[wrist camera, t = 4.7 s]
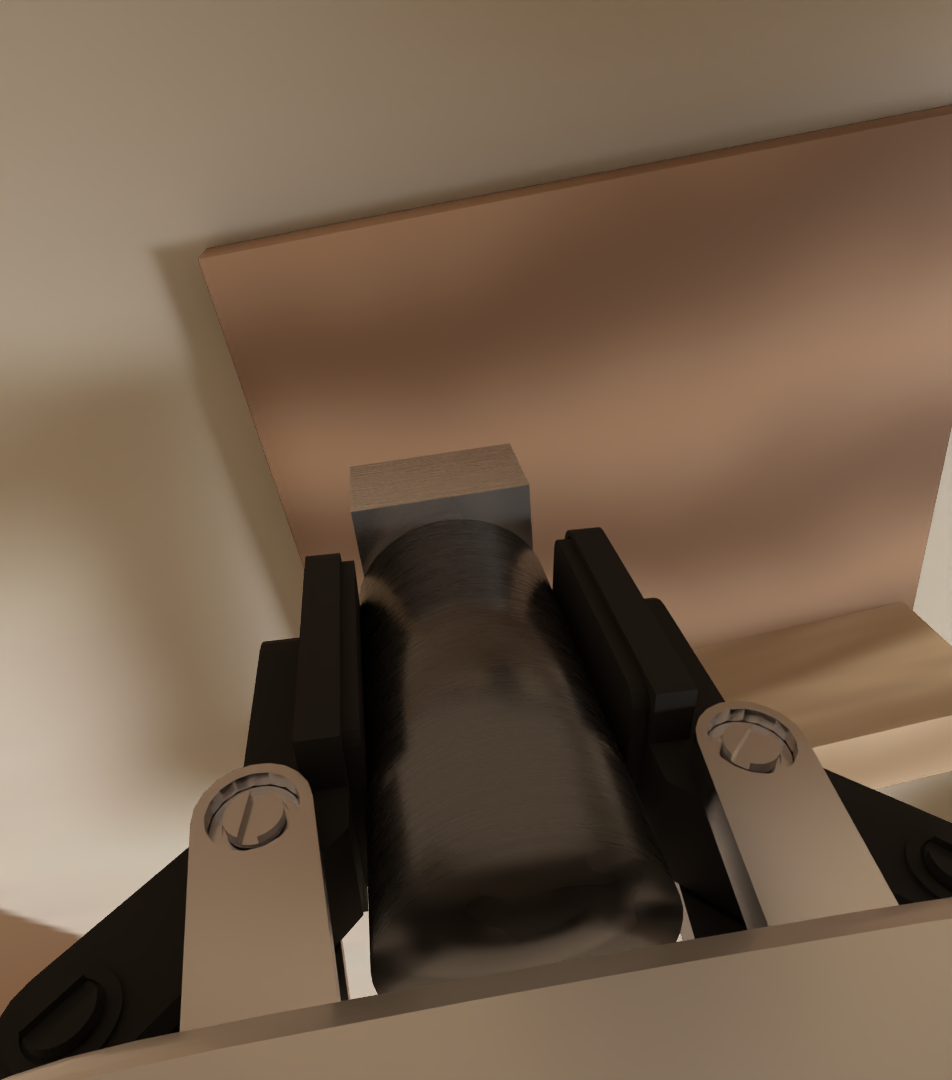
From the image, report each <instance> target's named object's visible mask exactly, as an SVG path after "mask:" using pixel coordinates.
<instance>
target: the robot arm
mask: <svg viewBox="0 0 952 1080" xmlns="http://www.w3.org/2000/svg"><path fill="white" fill-rule="evenodd" d="M552 591H553V593H554V595H555V598H556V600H557V603H558V605H559V607H560V610H561V612H562V614H563V617H564V619H565V622H566V624H567V626H568V629H569V631H570V634H571V636H572V638H573V641H574V643H575V646H576V648H577V650H578V653H579V655H580V657H581V660H582V662H583V665H584V667H585V669H586V672H587V674H588V677H589V679H590V681H591V684H592V686H593V689H594V691H595V693H596V696H597V698H598V700H599V703H600V705H601V708H602V710H603V712H604V715H605V717H606V720H607V722H608V724H609V727H610V729H611V732H612V734H613V736H614V739H615V741H616V743H617V746H618V748H619V751H620V753H621V755H622V758H623V760H624V763H625V765H626V767H627V770H628V772H629V775H630V777H631V779H632V782H633V784H634V787H635V789H636V791H637V794H638V796H639V798H640V801H641V803H642V806H643V808H644V810H645V813H646V815H647V818H648V820H649V822H650V825H651V827H652V830H653V832H654V834H655V837H656V839H657V841H658V844H659V846H660V849H661V851H662V853H663V856H664V858H665V861H666V863H667V865H668V868H669V870H670V873H671V875H672V877H673V880H674V882H675V884H676V887H677V889H678V892H679V894H680V896H681V900H682V905H683V923H682V927H681V931H680V932H681V936H682V939H683V941H680V942H675V943H669V944H663V945H657V946H652V947H646V948H640V949H634V950H628V951H623V952H617V953H611V954H605V955H600V956H594V957H588V958H582V959H577V960H571V961H565V962H559V963H554V964H548V965H542V966H537V967H531V968H525V969H519V970H514V971H508V972H502V973H497V974H491V975H485V976H479V977H474V978H468V979H463V980H457V981H451V982H446V983H440V984H435V985H429V986H424V987H418V988H413V989H407V990H401V991H396V992H390V993H385V994H379V995H374V996H368V997H362V998H357V999H351V1000H350V994H349V986H348V979H347V971H346V964H345V957H344V949H343V942H342V939H343V937H344V936H345V935H346V934H347V933H348V932H349V931H350V929H351V928H352V927H353V926H354V925H355V924H356V923H357V922H358V920H359V919H360V918H361V917H362V916H363V912H366V911H368V889H367V887H368V873H367V843H366V813H365V810H366V797H367V793H368V786H367V762H366V737H365V713H364V688H363V664H362V639H361V615H360V601H359V593H358V585H357V577H356V569H355V563H354V560H352V561H342V560H341V555H340V553H333V554H323V555H313V556H306V557H305V568H304V582H303V597H302V611H301V625H300V638H292V639H283V640H275V641H266V642H263V643H262V644H261V648H260V654H259V661H258V668H257V675H256V683H255V690H254V697H253V704H252V711H251V719H250V726H249V733H248V740H247V747H246V754H245V762H244V767H243V768H241V769H238V770H235V771H232V772H231V773H229V774H227V775H226V776H224V777H222V778H221V779H219V780H217V781H216V782H215V783H214V784H213V785H212V786H211V787H210V788H209V789H208V790H207V791H206V792H204V793H203V795H202V796H201V798H200V800H199V801H198V803H197V805H196V806H195V808H194V811H193V815H192V819H191V823H190V837H189V847H188V848H187V849H186V850H185V851H184V852H183V853H181V854H180V855H179V856H178V857H177V858H175V859H174V860H173V861H172V862H171V863H169V864H168V865H167V866H166V867H165V868H164V869H162V870H161V871H160V872H159V873H158V874H156V875H155V876H154V877H153V878H152V879H150V880H149V881H148V882H147V883H146V884H145V885H143V886H142V887H141V888H140V889H139V890H137V891H136V892H135V893H134V894H133V895H132V896H130V897H129V898H128V899H127V900H126V901H124V902H123V903H122V904H121V905H120V906H118V907H117V908H116V909H115V910H114V911H113V912H111V913H110V914H109V915H108V916H107V917H105V918H104V919H103V920H102V921H101V922H99V923H98V924H97V925H96V926H95V927H94V928H92V929H91V930H90V931H89V932H88V933H86V934H85V935H84V936H83V937H82V938H81V939H79V940H78V941H77V942H76V943H75V944H73V945H72V946H71V947H70V948H69V949H68V950H66V951H65V952H64V953H63V954H62V955H60V956H59V957H58V958H57V959H56V960H54V961H53V962H52V963H51V964H50V965H48V966H47V967H46V968H45V969H44V970H43V971H41V972H40V973H39V974H38V975H37V976H35V977H34V978H33V979H32V980H31V981H30V982H29V983H28V984H27V985H26V986H25V987H24V988H23V989H22V990H21V991H20V992H19V993H18V994H17V995H16V996H15V997H14V998H13V999H12V1000H11V1001H10V1003H9V1005H8V1006H7V1007H6V1009H5V1011H4V1012H3V1014H2V1015H1V1017H0V1080H952V823H950V822H948V821H945V820H943V819H941V818H938V817H936V816H934V815H931V814H929V813H927V812H924V811H922V810H920V809H918V808H915V807H913V806H911V805H908V804H906V803H904V802H901V801H899V800H897V799H894V798H892V797H890V796H887V795H885V794H883V793H880V792H878V791H876V790H873V789H871V788H869V787H867V786H864V785H862V784H860V783H857V782H855V781H853V780H850V779H848V778H846V777H843V776H841V775H839V774H836V773H834V772H832V771H829V770H827V769H825V768H823V767H822V765H821V763H820V761H819V760H818V758H817V756H816V754H815V752H814V751H813V749H812V747H811V745H810V743H809V741H808V740H807V738H806V736H805V735H804V734H803V732H802V731H801V730H800V729H799V727H798V726H797V725H796V724H795V723H794V722H792V721H791V720H790V719H789V718H787V717H786V716H785V715H783V714H782V713H780V712H777V711H775V710H773V709H771V708H769V707H767V706H764V705H760V704H757V703H753V702H746V701H729V702H725V700H724V699H723V697H722V695H721V694H720V692H719V691H718V689H717V688H716V686H715V684H714V683H713V681H712V680H711V678H710V676H709V675H708V673H707V672H706V670H705V668H704V667H703V665H702V664H701V662H700V661H699V659H698V657H697V656H696V654H695V653H694V651H693V649H692V648H691V646H690V645H689V643H688V641H687V640H686V638H685V637H684V635H683V634H682V632H681V630H680V629H679V627H678V626H677V624H676V622H675V621H674V619H673V618H672V616H671V615H670V613H669V611H668V610H667V608H666V607H665V605H664V604H663V603H662V601H661V600H660V599H658V598H655V597H654V598H645V599H644V598H643V596H642V594H641V593H640V591H639V589H638V588H637V586H636V584H635V583H634V581H633V579H632V578H631V576H630V574H629V572H628V571H627V569H626V567H625V566H624V564H623V562H622V561H621V559H620V557H619V556H618V554H617V552H616V551H615V549H614V547H613V546H612V544H611V542H610V541H609V539H608V537H607V536H606V534H605V532H604V531H603V529H602V528H601V527H593V528H583V529H573V530H567V532H566V534H565V539H559V540H556V541H555V544H554V562H553V586H552Z"/></svg>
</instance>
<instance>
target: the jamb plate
mask: <svg viewBox="0 0 952 1080" xmlns="http://www.w3.org/2000/svg"><path fill="white" fill-rule="evenodd" d="M198 261H199V264H200V266H201V269H202V272H203V275H204V278H205V281H206V284H207V287H208V290H209V293H210V296H211V298H212V301H213V304H214V307H215V310H216V313H217V316H218V319H219V322H220V325H221V328H222V331H223V333H224V336H225V339H226V342H227V345H228V348H229V351H230V354H231V357H232V360H233V363H234V365H235V368H236V371H237V374H238V377H239V380H240V383H241V386H242V389H243V392H244V395H245V398H246V400H247V403H248V406H249V409H250V412H251V415H252V418H253V421H254V424H255V427H256V430H257V433H258V435H259V438H260V441H261V444H262V447H263V450H264V453H265V456H266V459H267V462H268V465H269V467H270V470H271V473H272V476H273V479H274V482H275V485H276V488H277V491H278V494H279V497H280V500H281V502H282V505H283V508H284V511H285V514H286V517H287V520H288V523H289V526H290V529H291V532H292V534H293V537H294V540H295V543H296V546H297V549H298V552H299V555H300V558H301V561H302V564H303V567H304V568H305V557H306V556H313V555H323V554H333V553H340V555H341V560H342V561H352V560H354V563H355V569H356V577H357V585H358V593H359V594H360V589H361V585H362V582H363V579H364V574H363V569H362V564H361V559H360V555H359V550H358V545H357V540H356V535H355V530H354V526H353V521H352V516H351V503H350V467H352V466H358V465H365V464H372V463H379V462H386V461H392V460H399V459H406V458H413V457H419V456H426V455H433V454H440V453H447V452H453V451H460V450H467V449H474V448H480V447H487V446H494V445H501V444H507V443H510V445H511V447H512V449H513V451H514V453H515V455H516V457H517V460H518V462H519V464H520V466H521V468H522V470H523V472H524V474H525V477H526V479H527V481H528V483H529V487H530V505H531V523H532V541H533V551H534V552H535V554H536V555H537V557H538V558H539V560H540V563H541V565H542V567H543V569H544V571H545V574H546V576H547V579H548V581H549V583H550V586H551V588H552V586H553V562H554V544H555V541H556V540H559V539H565V534H566V532H567V530H573V529H583V528H593V527H601V528H602V529H603V531H604V532H605V534H606V536H607V537H608V539H609V541H610V542H611V544H612V546H613V547H614V549H615V551H616V552H617V554H618V556H619V557H620V559H621V561H622V562H623V564H624V566H625V567H626V569H627V571H628V572H629V574H630V576H631V578H632V579H633V581H634V583H635V584H636V586H637V588H638V589H639V591H640V593H641V594H642V596H643V598H644V599H645V598H654V597H655V598H658V599H660V600H661V601H662V603H663V604H664V605H665V607H666V608H667V610H668V611H669V613H670V615H671V616H672V618H673V619H674V621H675V622H676V624H677V626H678V627H679V629H680V630H681V632H682V634H683V635H684V637H685V638H686V640H687V641H688V643H689V645H690V646H691V648H692V649H693V651H694V653H695V654H696V656H697V657H698V659H699V661H700V662H701V664H702V665H703V667H704V668H705V670H706V672H707V673H708V675H709V676H710V678H711V680H712V681H713V683H714V684H715V686H716V688H717V689H718V691H719V692H720V694H721V695H722V697H723V699H724V700H725V702H729V701H746V702H753V703H757V704H760V705H764V706H767V707H769V708H771V709H773V710H775V711H777V712H780V713H782V714H783V715H785V716H786V717H787V718H789V719H790V720H791V721H792V722H794V723H795V724H796V725H797V726H798V727H799V729H800V730H801V731H802V732H803V734H804V735H805V736H806V738H807V740H808V741H809V743H810V745H811V747H812V749H813V751H814V752H815V754H816V756H817V758H818V760H819V761H820V763H821V765H822V767H823V768H825V769H827V770H829V771H832V772H834V773H836V774H839V775H841V776H843V777H846V778H848V779H850V780H853V781H855V782H857V783H860V784H862V785H864V786H867V787H869V788H871V789H873V790H874V789H878V788H882V787H886V786H890V785H894V784H899V783H903V782H907V781H911V780H915V779H919V778H924V777H928V776H932V775H936V774H940V773H945V772H949V771H952V646H951V645H950V644H948V643H947V642H946V641H945V640H944V639H943V638H942V637H941V636H940V635H939V634H938V633H936V632H935V631H934V630H933V629H932V628H931V627H930V626H929V625H928V624H927V623H926V622H924V621H923V620H922V619H921V618H920V617H919V616H918V615H917V614H916V613H915V612H914V611H913V606H914V601H915V597H916V592H917V587H918V583H919V578H920V573H921V568H922V564H923V559H924V554H925V550H926V545H927V540H928V536H929V531H930V526H931V522H932V517H933V512H934V507H935V503H936V498H937V493H938V489H939V484H940V479H941V475H942V470H943V465H944V460H945V456H946V451H947V446H948V442H949V437H950V432H951V428H952V105H949V106H944V107H939V108H934V109H929V110H923V111H918V112H913V113H908V114H903V115H897V116H892V117H887V118H882V119H877V120H872V121H866V122H861V123H856V124H851V125H846V126H840V127H835V128H830V129H825V130H820V131H814V132H809V133H804V134H799V135H794V136H789V137H783V138H778V139H773V140H768V141H763V142H757V143H752V144H747V145H742V146H737V147H731V148H726V149H721V150H716V151H711V152H706V153H700V154H695V155H690V156H685V157H680V158H674V159H669V160H664V161H659V162H654V163H648V164H643V165H638V166H633V167H628V168H623V169H617V170H612V171H607V172H602V173H597V174H591V175H586V176H581V177H576V178H571V179H565V180H560V181H555V182H550V183H545V184H540V185H534V186H529V187H524V188H519V189H514V190H508V191H503V192H498V193H493V194H488V195H482V196H477V197H472V198H467V199H462V200H457V201H451V202H446V203H441V204H436V205H431V206H425V207H420V208H415V209H410V210H405V211H399V212H394V213H389V214H384V215H379V216H374V217H368V218H363V219H358V220H353V221H348V222H342V223H337V224H332V225H327V226H322V227H316V228H311V229H306V230H301V231H296V232H291V233H285V234H280V235H275V236H270V237H265V238H259V239H254V240H249V241H244V242H239V243H233V244H228V245H223V246H218V247H213V248H208V249H206V250H205V252H204V253H203V254H202V255H201V256H200V258H199V259H198ZM680 934H681V932H680Z"/></svg>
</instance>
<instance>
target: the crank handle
mask: <svg viewBox="0 0 952 1080" xmlns="http://www.w3.org/2000/svg"><path fill="white" fill-rule="evenodd" d="M350 503H351V516H352V521H353V526H354V530H355V535H356V540H357V545H358V550H359V555H360V559H361V564H362V569H363V574H364V579H363V582H362V585H361V589H360V594H359V601H360V615H361V639H362V664H363V688H364V713H365V737H366V762H367V786H368V793H367V797H366V810H365V813H366V843H367V873H368V904H369V934H370V965H371V976H372V982H373V985H374V987H375V989H376V991H377V994H378V995H379V994H385V993H390V992H396V991H401V990H407V989H413V988H418V987H424V986H429V985H435V984H440V983H446V982H451V981H457V980H463V979H468V978H474V977H479V976H485V975H491V974H497V973H502V972H508V971H514V970H519V969H525V968H531V967H537V966H542V965H548V964H554V963H559V962H565V961H571V960H577V959H582V958H588V957H594V956H600V955H605V954H611V953H617V952H623V951H628V950H634V949H640V948H646V947H652V946H657V945H663V944H669V943H675V942H676V941H677V938H678V936H679V934H680V931H681V927H682V923H683V905H682V900H681V896H680V894H679V892H678V889H677V887H676V884H675V882H674V880H673V877H672V875H671V873H670V870H669V868H668V865H667V863H666V861H665V858H664V856H663V853H662V851H661V849H660V846H659V844H658V841H657V839H656V837H655V834H654V832H653V830H652V827H651V825H650V822H649V820H648V818H647V815H646V813H645V810H644V808H643V806H642V803H641V801H640V798H639V796H638V794H637V791H636V789H635V787H634V784H633V782H632V779H631V777H630V775H629V772H628V770H627V767H626V765H625V763H624V760H623V758H622V755H621V753H620V751H619V748H618V746H617V743H616V741H615V739H614V736H613V734H612V732H611V729H610V727H609V724H608V722H607V720H606V717H605V715H604V712H603V710H602V708H601V705H600V703H599V700H598V698H597V696H596V693H595V691H594V689H593V686H592V684H591V681H590V679H589V677H588V674H587V672H586V669H585V667H584V665H583V662H582V660H581V657H580V655H579V653H578V650H577V648H576V646H575V643H574V641H573V638H572V636H571V634H570V631H569V629H568V626H567V624H566V622H565V619H564V617H563V614H562V612H561V610H560V607H559V605H558V603H557V600H556V598H555V595H554V593H553V591H552V588H551V586H550V583H549V581H548V579H547V576H546V574H545V571H544V569H543V567H542V565H541V563H540V560H539V558H538V557H537V555H536V554H535V552H534V551H533V541H532V523H531V505H530V487H529V483H528V481H527V479H526V477H525V474H524V472H523V470H522V468H521V466H520V464H519V462H518V460H517V457H516V455H515V453H514V451H513V449H512V447H511V445H510V443H507V444H501V445H494V446H487V447H480V448H474V449H467V450H460V451H453V452H447V453H440V454H433V455H426V456H419V457H413V458H406V459H399V460H392V461H386V462H379V463H372V464H365V465H358V466H352V467H350Z"/></svg>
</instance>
